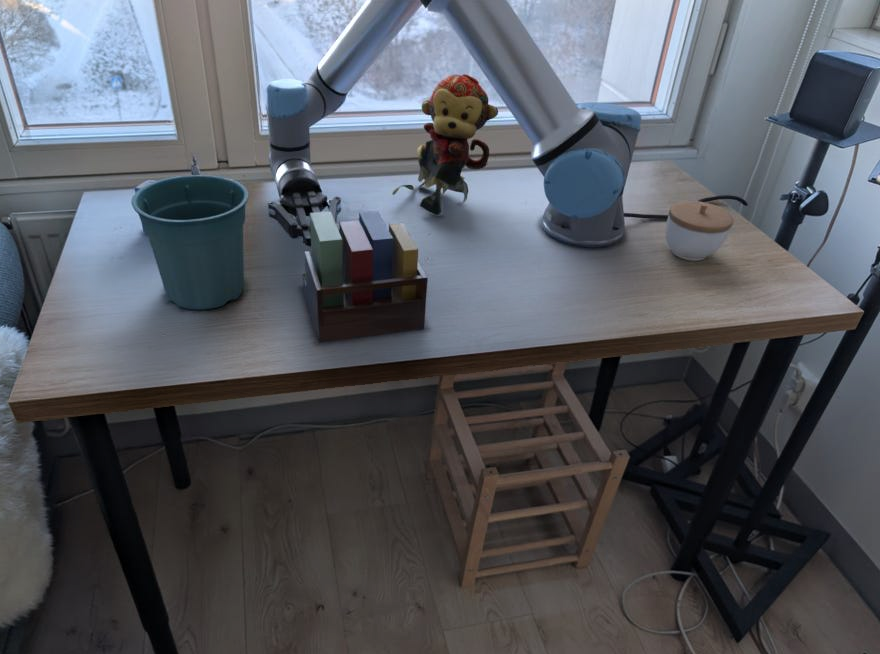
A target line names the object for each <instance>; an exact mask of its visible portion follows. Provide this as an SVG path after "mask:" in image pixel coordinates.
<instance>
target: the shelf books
mask: <svg viewBox="0 0 880 654" xmlns="http://www.w3.org/2000/svg"><path fill="white" fill-rule="evenodd" d="M338 230H339V233H340V235H341V237H342V246H343V284H351V283H360V282H368V281H373V249H372V247H371V244H370V242H369V240H368V238H367V236H366V234H365V232H364V230H363V228H362V226H361V224H360V222H359V219H357V220H350V221H349V220H348V221H339V222H338ZM388 230H389V232H390V234H391V236H392V238H393V253H392V279H395V278H404V277H413V276H417V267H418V262H419V248H418V246H417V244H416V242H415V241H414V240H413V239H414V238H413V237H412V235H411V233H409V231H408V229H407V227H406V226H405V223H404V222H392V223H388ZM392 288H393V290H394V292H395V294H396V296H397V298H398V300H401V299H410V298H416V285H410V286H401V287H392ZM372 292H373V290H366V291H358V292H349V293H345V296H346V299H347V301H348V304H349V306H351V305H360V304H368V303H372Z"/></svg>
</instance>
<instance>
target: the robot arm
mask: <svg viewBox="0 0 880 654" xmlns="http://www.w3.org/2000/svg"><path fill="white" fill-rule="evenodd" d="M422 6H423V7H424V9H425V10H426V11H427V12H432V13H438V14H441V15H443V17H444V19H445V20H446V21H447V23H448V24H449V25H450V27H451V28H452V30H453V31H454V33H455V34H456V36H457V37H458V39H459V40H460V41H461V43H462V44H463V46H464V47H465V49H466V50H467V52H468V54H470V56H471V57H472V59H473V60H474V61H475V63H476V64H477V66H478V67H479V69H480V71H481V72H482V73H483V74H484V76H485V78H486V79H487V80H488V82H489V83H490V84H491V87H493V90H495V91H496V93H497V95H498V96H499V97H500V99H501V100H502V102H503V103H504V105H505V106H506V108H507V109H508V111H509V112H510V113H511V115H512V116H513V117H514V119H515V121H516V122H517V123H518V124H519V126H520V128H521V129H522V130H523V131H524V134H525V135H526V137H527V138H528V139H529V140H530V142H531V152H530V159H531V160H532V162H533V163H534V165H535V166H536V168H537V169H538V171H539V172H540V174H541V175H542V176H543V190H544V195H545V198H546V199H547V201H548V204H547V206H546V208H545V209H544V212H543V215H542V219H541V227H542V229H543V231H544V232H545V233H546V234H547V235H549V236H550V237H552V238H553V239H555V240H557V241H559V242H561V243H563V244H567V245H571V246H574V247H580V248H591V249H593V248H605V247H610V246H613V245H615V244H616V243H618V242H620V241H621V240H622V238H623V235H624V231H625V225H626V224H625V218H637V219H654V220H655V219H656V220H667V219H668V216H669V214H647V213H646V214H645V213H644V214H643V213H635V212H633V213H632V212H625V211H624V202H623V201H624V200H623V195H624V191H625V186H626V183H627V179H628V175H629V173H630V172H629V171H630V167H631V163H632V159H633V156H634V152H635V147H636V144H637V140H638V137H639V133H640V132H641V130H642V129H641V124H642V115H641V114H640V112H639V111H637V110H635V109H633V108H630V107H627V106H624V105H618V104H613V103H607V102H606V103H605V102H593V101H592V102H581V103H578V104H576V102H575V100H574V99H573V97H572V96H571V95H570V92H569V91H568V90H567V88H566V87H565V85H564V84H563V82H562V81H561V79H560V78H559V76H558V74H557V73H556V72H555V70H554V69H553V67H552V66H551V64H550V63H549V61H548V60H547V58H546V57H545V55H544V54H543V52H542V51H541V49H540V48H539V46H538V44H537V43H536V42H535V40H534V39H533V37H532V35H530V33H529V31H528V29H527V28H526V26H525V25H524V23H523V21H522V20H521V19H520V17H519V16H518V15H517V13H516V11H515V10H514V8H513V7H512V5H511V4H510V3H509V1H508V0H366V1H365V3H364V4H363V5H362V7H361V8H360V10H359V11H358V12H357V13H356V14H355V16H354V17H353V18H352V20H351V21H350V23H349V24H348V25H347V27H346V28H345V29H344V30H343V32H342V33H341V34H340V36H339V37H338V38H337V40H336V41H335V42H334V43H333V45H332V46H331V47H330V49H329V50H328V51H327V53H325V55H324V57H322V59H321V61H320V62H319V63H318V65H317V66H316V67H315V68H314V70H313V71H312V72H311V74H310V75H309V76H308V77H307V79H305V80H304V81H301V80H298V79H293V78H280V79H278V80H272V81H271V82H269V83H268V84H267V85H266V88H265V111H266V120H267V130H268V138H269V157H268V161H269V170H270V172H271V174H272V176H273V179H274V182H275V185H276V189H277V193H278V196H279V199H278V202H276V201H268V202H267V207H268V217H269V218H271V219H273V220H275V221H276V222H277V223H278V224H279V226H280V227H281V228H282V229H283V230H284V231H285V233H286V234H287V235H288V236H289V237H290V238H291V239H293V240H295V239H298V238H299V237H301V240H302V241H301V242H302V243H303V244H304V245H305V246H306V247H311V231H310V222H309V221H308V217H310V213H317V212H323V211H324V210H325V209H326V208H327V210H328V211H331V213H332V216H333V218H334V221H335V223H336V224H337V222H338V221H337V220H338V215H339V214H340V213H341V212H342V197H341V196H334V197H333V198H328V196H327V195H326V194H325V193H323V190H322V188H321V185H320V183H319V180H318V178H317V175H316V173H315V171H314V168H313V166H312V162H311V139H310V137H311V136H310V134H311V133H310V128H311V127H313V126H314V125H316V124H318V122H321V121H322V120H323V119H324V118H326V117H328V116H329V115H331V114H333V113H335V112H336V111H338V110H339V109H340V108H341V106H343V105H344V103H345V102H346V100H347V95H348V94H349V92H351V90H352V89H353V88H354V87H355V85H356V84H357V83H358V82H359V81H360V79H361V78H362V77H363V76H364V75H365V73H367V71H368V70H369V69H370V67H371V66H372V65H373V64H374V62H375V61H376V60H377V59H378V58H379V57H380V56H381V55H382V53H383V52H385V50H386V48H387V47H388V46H389V45H390V44H391V42H393V40H394V39H395V38H396V37H397V35H398V34H399V33H400V32H401V31H402V30H403V29H404V27H405V26H407V24H408V23H409V21H410V20H411V19H412V17H414V16H415V14H416V13H417V12H418V11H419V9H420V8H421V7H422ZM717 200H732V201H733V200H734V201H737V202H739V203H740V204H742V205H743V206H745V207H747V206H749V203H748V202H747V201H746V199H743V198H742V197H740V196H738V195H730V194H726V195H725V194H724V195H714V196H708V197H704V198H700V199H699V200H698V201H699V202H705V203H708V202H711V201H712V202H713V201H717ZM293 217H294V218H295V219H294V218H293Z"/></svg>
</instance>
